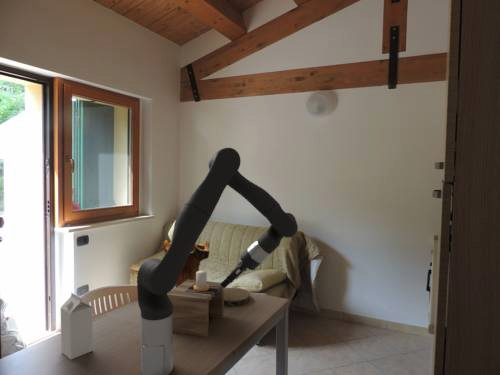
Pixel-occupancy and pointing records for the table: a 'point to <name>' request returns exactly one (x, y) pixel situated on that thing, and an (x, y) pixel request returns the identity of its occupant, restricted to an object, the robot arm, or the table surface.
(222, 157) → the robot arm
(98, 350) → the table surface
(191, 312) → the wooden slotted block
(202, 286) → the cylinder with orange collar
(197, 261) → the decorative vase
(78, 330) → the milk carton
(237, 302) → the wood slice
